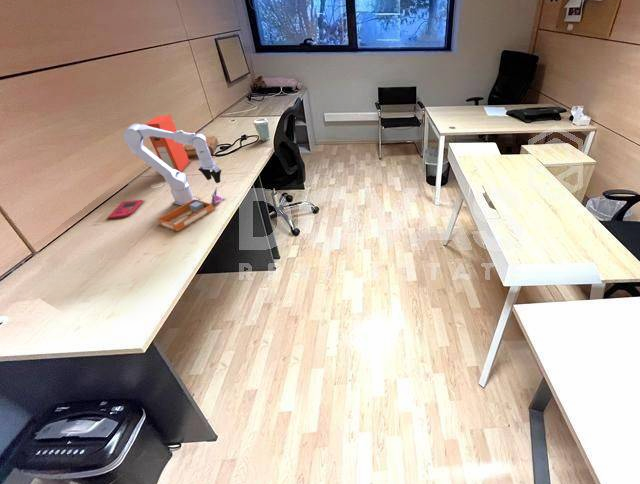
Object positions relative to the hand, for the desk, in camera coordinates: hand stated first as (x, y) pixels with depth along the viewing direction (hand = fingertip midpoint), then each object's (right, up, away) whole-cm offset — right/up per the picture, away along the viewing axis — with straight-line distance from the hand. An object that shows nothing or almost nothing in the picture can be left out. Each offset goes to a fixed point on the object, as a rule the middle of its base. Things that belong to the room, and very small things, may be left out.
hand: (213, 180), depth 170 cm
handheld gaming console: (-42, -16, -6) cm, 45 cm away
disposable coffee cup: (-6, +38, +78) cm, 88 cm away
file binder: (-44, +11, +36) cm, 58 cm away
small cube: (-3, -16, -8) cm, 18 cm away
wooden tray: (-6, -19, -12) cm, 23 cm away
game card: (+2, -11, 0) cm, 11 cm away
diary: (-44, +27, +61) cm, 79 cm away
